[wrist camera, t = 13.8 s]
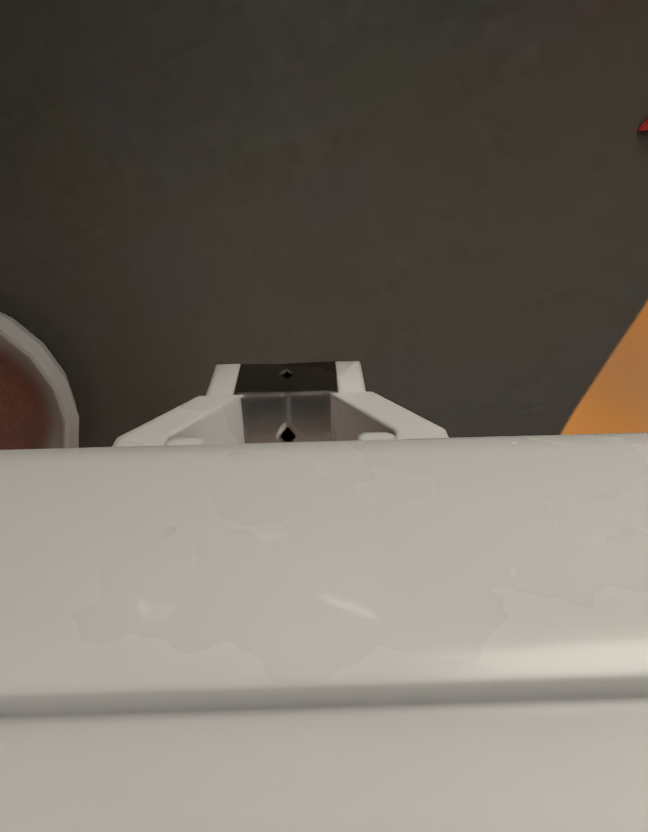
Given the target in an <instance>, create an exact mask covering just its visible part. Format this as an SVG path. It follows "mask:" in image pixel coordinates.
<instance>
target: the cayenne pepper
mask: <svg viewBox="0 0 648 832" xmlns="http://www.w3.org/2000/svg"><path fill="white" fill-rule="evenodd" d="M638 130H639V131H646V130H648V119H647V120H646V121H645V122H644V123H643V124H642V125H641V126H640V128H639V129H638Z"/></svg>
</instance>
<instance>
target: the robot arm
mask: <svg viewBox="0 0 648 832" xmlns="http://www.w3.org/2000/svg"><path fill="white" fill-rule="evenodd" d="M0 832H648V433H616V434H581V435H580V434H577V435H539V436H501V437H462V438H449V437H448V435H447V432H446V430H445V429H443V428H441V427H440V426H438V425H436V424H434V423H432V422H430V421H428V420H426V419H424V418H422V417H420V416H418V415H416V414H414V413H412V412H410V411H408V410H406V409H405V408H403V407H401V406H399V405H397V404H395V403H393V402H391V401H389V400H387V399H385V398H383V397H381V396H379V395H377V394H375V393H373V392H366V391H365V385H364V380H363V375H362V370H361V365H360V362H359V361H345V362H335V361H331V362H309V363H288V364H222V365H216V366H215V369H214V372H213V375H212V378H211V381H210V384H209V387H208V390H207V393H206V396H198V397H196V398H194V399H192V400H190V401H188V402H186V403H184V404H182V405H180V406H178V407H176V408H174V409H173V410H171V411H169V412H167V413H165V414H163V415H161V416H159V417H157V418H155V419H153V420H151V421H149V422H147V423H145V424H143V425H141V426H139V427H137V428H135V429H133V430H131V431H129V432H127V433H125V434H123V435H121V436H119V437H117V439H116V440H115V442H114V444H113V446H112V447H90V448H53V449H15V450H0Z"/></svg>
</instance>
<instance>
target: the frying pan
mask: <svg viewBox="0 0 648 832" xmlns="http://www.w3.org/2000/svg"><path fill="white" fill-rule="evenodd" d="M53 448H79V415H78V412H77V409H76V402H75V399H74V396H73V393H72V390H71V388H70V385H69V382H68V379H67V376H66V373H65V372H64V370H63V369H62V368H61V366H60V365H59V363H58V362H57V361H56V359H55V358H54V357H53V355H52V354H51V352H50V351H49V350H48V348H47V347H46V345H45V344H44V343H43V342H42V341H40V340H39V339H38V338H37V337H36V336H34V335H33V334H32V333H31V332H29V331H28V330H27V329H26V328H25V327H23V326H22V325H21V324H20V323H18V322H17V321H16V320H15V319H14V318H12V317H10V316H8V315H5V314H3V313H1V312H0V450H15V449H53Z"/></svg>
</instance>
